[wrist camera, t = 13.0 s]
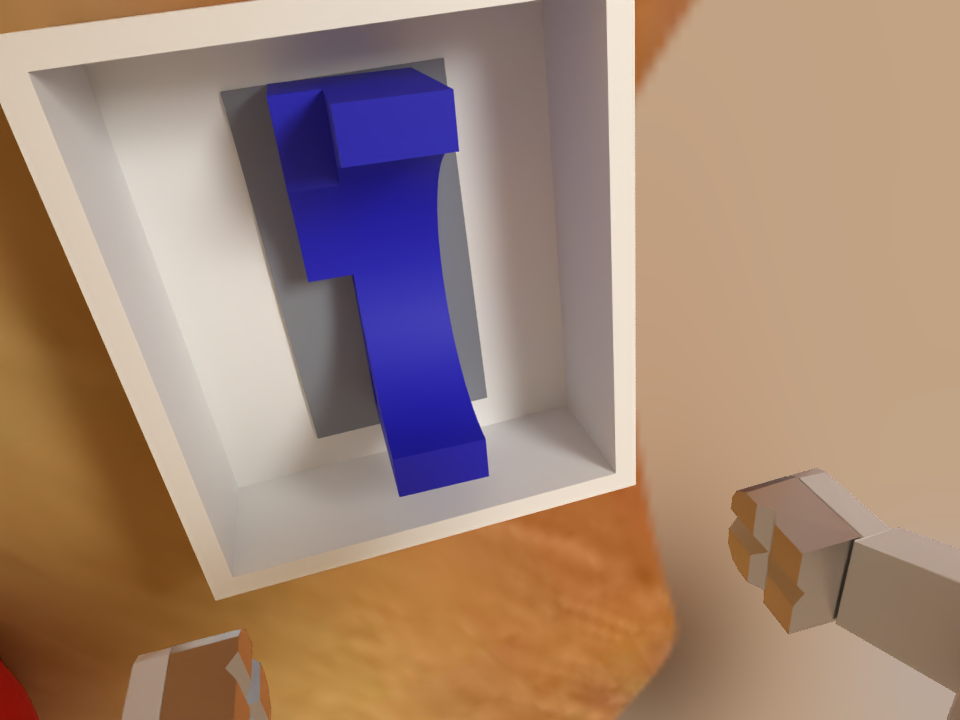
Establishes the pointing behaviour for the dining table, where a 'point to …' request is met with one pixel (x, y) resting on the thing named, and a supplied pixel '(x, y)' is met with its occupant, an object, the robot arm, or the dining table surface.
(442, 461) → the blue curved block
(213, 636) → the robot arm
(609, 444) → the walled box
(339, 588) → the dining table surface
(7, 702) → the ceramic cup
